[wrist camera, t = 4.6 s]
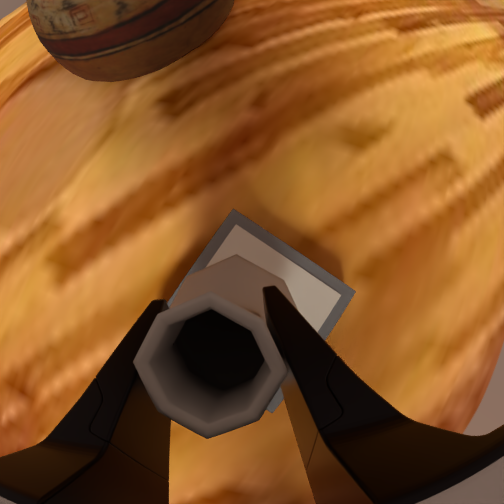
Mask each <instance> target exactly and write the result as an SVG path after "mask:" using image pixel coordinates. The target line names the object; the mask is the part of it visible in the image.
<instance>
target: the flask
mask: <svg viewBox="0 0 504 504" xmlns="http://www.w3.org/2000/svg"><path fill="white" fill-rule="evenodd" d="M272 285H275V286H276V287H277V288H278V289H279V290H280V291H281V292H282V293H283V294H284V295H285V297H286V298H287V299H288V300H289V301H290V302H291V303H292V304H293V306H294V307H295V308H296V309H297V307H296V304H295V302H294V300H293V298H292V296H291V293H290V291H289V289H288V287H287V285H286V283H285V280H283V279H281V278H279V277H278V276H276V275H274V274H272V273H270V272H268V271H267V270H265V269H263V268H261V267H259V266H257V265H255V264H254V263H252V262H250V261H248V260H246V259H244V258H243V257H241V256H239V255H237V254H235V255H233V256H231V257H228V258H226V259H224V260H222V261H219V262H217V263H215V264H213V265H211V266H208V267H206V268H204V269H202V270H199V271H197V272H195V273H193V274H191V275H188V276H187V277H186V278H185V280H184V282H183V284H182V286H181V288H180V289H179V291H178V293H177V295H176V297H175V299H174V300H173V302H172V304H171V306H170V308H169V309H168V310H166V311H164V312H161V313H159V314H157V316H156V318H155V320H154V322H153V324H152V326H151V328H150V329H149V331H148V333H147V335H146V337H145V339H144V341H143V343H142V345H141V347H140V349H139V351H138V353H137V355H136V357H135V359H134V361H133V363H134V365H135V367H136V369H137V371H138V374H139V376H140V378H141V380H142V382H143V384H144V386H145V388H146V390H147V392H148V394H149V396H150V398H151V400H152V402H153V404H154V406H155V407H156V409H157V411H158V412H159V413H161V414H163V415H164V416H166V417H168V418H169V419H171V420H173V421H175V422H176V423H178V424H180V425H182V426H184V427H186V428H187V429H189V430H191V431H193V432H195V433H197V434H199V435H201V436H203V437H205V438H207V439H209V438H212V437H215V436H218V435H221V434H223V433H226V432H229V431H232V430H235V429H237V428H240V427H243V426H246V425H248V424H251V423H253V422H256V421H258V420H260V418H261V417H262V415H263V413H264V412H265V410H266V409H267V407H268V406H269V404H270V402H271V401H272V399H273V397H274V396H275V394H276V393H277V391H278V389H279V388H280V386H281V384H282V383H283V381H284V379H285V378H286V376H287V374H288V370H287V368H286V366H285V364H284V362H283V360H282V358H281V355H280V353H279V351H278V349H277V347H276V345H275V343H274V340H273V338H272V336H271V334H270V332H269V330H268V328H267V325H266V319H265V312H264V304H263V293H262V288H263V287H265V286H272ZM297 310H298V309H297ZM173 343H174V345H173Z"/></svg>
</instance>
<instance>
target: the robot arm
mask: <svg viewBox="0 0 504 504" xmlns="http://www.w3.org/2000/svg"><path fill="white" fill-rule="evenodd" d="M262 293H263V304H264V312H265V319H266V325H267V328H268V330H269V332H270V334H271V336H272V338H273V340H274V343H275V345H276V347H277V349H278V351H279V353H280V355H281V358H282V360H283V362H284V364H285V366H286V368H287V370H288V374H287V376H286V378H285V379H284V381H283V383H282V384H281V386H280V387H281V390H282V393H283V397H284V400H285V403H286V407H287V410H288V413H289V417H290V420H291V423H292V427H293V430H294V433H295V437H296V440H297V443H298V447H299V450H300V453H301V456H302V460H303V463H304V466H305V470H306V473H307V476H308V479H309V483H310V486H311V489H312V492H313V496H314V499H315V502H316V504H504V425H502V426H500V427H499V428H497V429H495V430H494V431H492V432H490V433H488V434H486V435H482V436H469V435H464V434H460V433H456V432H452V431H448V430H445V429H441V428H437V427H434V426H430V425H426V424H423V423H419V422H417V421H414V420H412V419H410V418H408V417H406V416H405V415H403V414H402V413H400V412H399V411H398V410H397V409H395V408H394V407H393V406H392V405H391V404H389V403H388V402H387V401H386V400H385V399H383V398H382V397H381V396H380V395H379V394H377V393H376V392H375V391H374V390H373V389H372V388H370V387H369V386H368V385H367V384H366V383H365V382H364V381H363V380H361V379H360V378H359V377H358V376H357V375H356V374H355V373H354V372H353V371H352V370H351V369H350V368H349V367H348V366H347V365H346V364H345V362H344V361H343V360H342V359H341V358H340V357H339V356H337V354H336V353H335V351H334V350H333V349H332V348H331V347H330V346H329V345H328V344H327V342H326V341H325V340H324V339H323V338H322V337H321V336H320V335H319V334H318V332H317V331H316V330H315V329H314V328H313V327H312V326H311V325H310V323H309V322H308V321H307V320H306V319H305V318H304V317H303V316H302V315H301V313H300V312H299V311H298V310H297V309H296V308H295V307H294V306H293V304H292V303H291V302H290V301H289V300H288V299H287V298H286V297H285V295H284V294H283V293H282V292H281V291H280V290H279V289H278V288H277V287H276V286H275V285H272V286H265V287H263V288H262ZM168 309H169V306H168V304H167V301H166V300H165V299H157V300H153V301H151V303H150V304H149V305H148V307H147V308H146V309H145V310H144V312H143V313H142V314H141V316H140V317H139V318H138V320H137V321H136V322H135V324H134V325H133V326H132V328H131V329H130V330H129V332H128V333H127V334H126V336H125V337H124V338H123V340H122V341H121V342H120V344H119V345H118V346H117V348H116V349H115V350H114V352H113V353H112V355H111V356H110V357H109V359H108V360H107V361H106V363H105V364H104V366H103V367H102V368H101V370H100V371H99V373H98V374H97V375H96V378H94V379H93V381H92V382H91V384H90V385H89V386H88V388H87V389H86V390H85V392H84V393H83V395H82V396H81V397H80V399H79V400H78V401H77V402H76V403H75V405H74V406H73V407H72V408H71V410H70V411H69V412H68V413H67V414H66V415H65V417H64V418H63V419H62V420H61V421H60V423H59V424H58V425H57V426H56V427H55V428H54V430H53V431H52V432H51V433H50V434H49V435H48V436H47V437H46V438H45V439H44V440H43V441H42V442H40V443H39V444H37V445H35V446H32V447H29V448H26V449H23V450H21V451H18V452H15V453H12V454H8V455H5V456H2V457H0V504H169V482H168V481H169V451H170V427H171V419H169V418H168V417H166V416H164V415H163V414H161V413H159V412H158V411H157V409H156V407H155V406H154V404H153V402H152V400H151V398H150V396H149V394H148V392H147V390H146V388H145V386H144V384H143V382H142V380H141V378H140V376H139V374H138V371H137V369H136V367H135V365H134V363H133V361H134V359H135V357H136V355H137V353H138V351H139V349H140V347H141V345H142V343H143V341H144V339H145V337H146V335H147V333H148V331H149V329H150V328H151V326H152V324H153V322H154V320H155V318H156V316H157V314H159V313H161V312H164V311H166V310H168ZM173 345H174V343H173Z"/></svg>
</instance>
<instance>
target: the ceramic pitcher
mask: <svg viewBox="0 0 504 504" xmlns="http://www.w3.org/2000/svg"><path fill="white" fill-rule="evenodd" d="M233 4H234V0H27V6H28V12H29V16H30V19H31V22H32V25H33V27H34V30H35V32H36V34H37V36H38V38H39V40H40V42H41V43H42V44H43V46H44V47H45V48H46V49H47V51H48V52H49V53H50V54H51V55H52V56H53V57H54V58H55V59H56V60H57V61H58V62H59V63H60V64H61V65H62V66H63V67H65V68H66V69H67V70H69V71H70V72H72V73H73V74H75V75H77V76H79V77H82V78H84V79H86V80H91V81H106V82H114V81H122V80H127V79H132V78H136V77H140V76H143V75H146V74H149V73H152V72H154V71H157V70H160V69H161V68H163V67H165V66H167V65H169V64H171V63H172V62H174V61H176V60H177V59H179V58H181V57H183V56H184V55H185V54H187V53H188V52H190V51H191V50H193V49H195V48H196V47H198V46H199V45H201V44H202V43H203V42H204V41H206V40H207V39H208V38H210V37H211V36H212V35H213V33H214V32H215V31H216V30H218V29H219V27H220V26H221V25H222V24H223V22H224V21H225V19H226V18H227V16H228V14H229V12H230V10H231V8H232V6H233Z"/></svg>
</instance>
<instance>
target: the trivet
mask: <svg viewBox="0 0 504 504" xmlns="http://www.w3.org/2000/svg"><path fill="white" fill-rule="evenodd" d="M235 254H237V255H239V256H241V257H243V258H244V259H246V260H248V261H250V262H252V263H254V264H255V265H257V266H259V267H261V268H263V269H265V270H267V271H268V272H270V273H272V274H274V275H276V276H278V277H279V278H281V279H283V280H285V283H286V285H287V287H288V289H289V291H290V293H291V296H292V298H293V300H294V302H295V304H296V307H297V309H298V311H299V312H300V313H301V315H302V316H303V317H304V318H305V319H306V320H307V321H308V322H309V323H310V325H311V326H312V327H313V328H314V329H315V330H316V331H317V332H318V334H319V335H320V336H321V337H322V338H323V339H324V340H326V338H327V337H328V335H329V334H330V332H331V331H332V329H333V328H334V326H335V325H336V323H337V321H338V320H339V318H340V317H341V315H342V313H343V312H344V310H345V309H346V307H347V305H348V304H349V302H350V301H351V299H352V297H353V296H354V294H355V292H356V291H355V290H353V289H352V288H350V287H349V286H347V285H346V284H344V283H343V282H342V281H340V280H339V279H337V278H336V277H334V276H333V275H331V274H330V273H328V272H327V271H326V270H324V269H323V268H321V267H320V266H318V265H317V264H315V263H314V262H312V261H311V260H309V259H308V258H307V257H305V256H304V255H302V254H301V253H299V252H298V251H296V250H295V249H293V248H292V247H290V246H289V245H287V244H286V243H284V242H283V241H281V240H280V239H278V238H277V237H275V236H274V235H272V234H271V233H269V232H268V231H266V230H265V229H263V228H262V227H260V226H259V225H257V224H256V223H254V222H253V221H251V220H250V219H248V218H247V217H245V216H244V215H242V214H241V213H239V212H237V211H236V210H234V209H233V210H232V211H231V212H230V214H229V215H228V216H227V218H226V219H225V221H224V222H223V223H222V225H221V226H220V228H219V229H218V230H217V232H216V233H215V235H214V236H213V238H212V239H211V240H210V242H209V243H208V245H207V246H206V247H205V249H204V250H203V252H202V253H201V255H200V256H199V257H198V259H197V260H196V262H195V263H194V265H193V266H192V268H191V269H190V271H189V272H188V273H187V275H186V276H185V278H186V277H187V276H188V275H191V274H193V273H195V272H197V271H199V270H202V269H204V268H206V267H208V266H211V265H213V264H215V263H217V262H219V261H222V260H224V259H226V258H228V257H231V256H233V255H235ZM185 278H184V279H183V281H182V282H181V284H180V285H179V287H178V288H177V290H176V291H175V293H174V294H173V295H172V297H171V298H170V300H169V301H168V303H167V304H168V306H169V308H170V306H171V304H172V302H173V300H174V299H175V297H176V295H177V293H178V291H179V289H180V288H181V286H182V284H183V282H184V280H185ZM283 399H284V397H283V393H282V390H281V387H280V388H279V389H278V391H277V393H276V394H275V396H274V397H273V399H272V401H271V402H270V404H269V406H268V407H267V409H266V410H268V411H269V412H271V413H273V412H274V411H275V409H276V408H277V407H278V405H279V404H280V403H281V402H282V400H283Z"/></svg>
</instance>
